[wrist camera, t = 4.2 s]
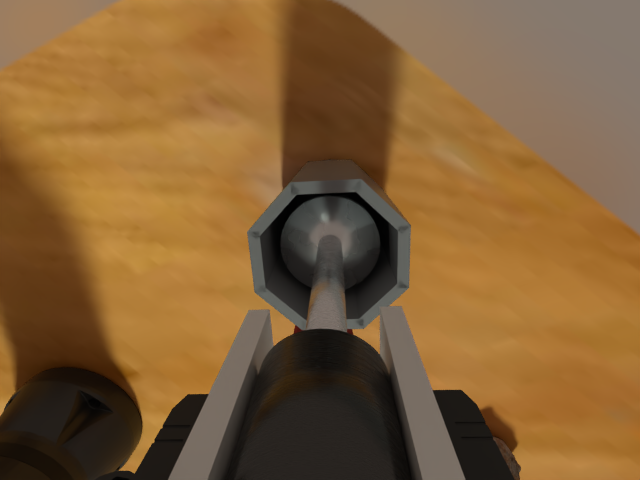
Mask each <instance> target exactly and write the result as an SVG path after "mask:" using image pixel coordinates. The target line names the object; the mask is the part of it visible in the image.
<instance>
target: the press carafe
mask: <svg viewBox="0 0 640 480" xmlns="http://www.w3.org/2000/svg"><path fill="white" fill-rule="evenodd" d="M321 195H339V196H344V197H347V198H349V199H352V200H354V201H356V202H357V203H359V204H360V205H361V206H363V207H364V208H365V209H366V210H367V211H368V212H369V214H370V215H371V217H372V218H373V220H374V222H375V224H376V227H377V229H378V232H379V237H380V252H379V257H378V260H377V262H376V264H375V266H374V268H373V269H372V271H371V272H370V274H369V275H368V276H367V277H366V278H365V279H363V280H362V281H361V282H360V283H358V284H356V285H355V286H352V287H350V288H347V289H345V304H346V322H347V329H364V328H365V327H366V326H367V325H368V324H369V323H370V322H372V321H373V320H374V319H375V318H376V317H377V316H378V315H379V314H380V307H388V306H389V305H390V304H392V303H393V302H394V301H395V300H396V299H397V298H398V297H399V296H400V295H401V294H403V293H404V292H405V291H406V290H407V289H408V288H409V267H410V232H411V225H410V224H409V223H408V221H407V220H406V219H405V217H404V216H403V215H402V214H401V212H400V211H399V210H398V208H397V207H396V206H395V204H394V203H393V202H392V201H391V199H390V198H389V197H388V195H387V194H386V193H385V192H384V190H383V189H382V188H381V187H380V186H379V185H378V184H377V183H376V182H375V181H374V180H372V179H371V178H370V177H369V176H368V175H367V173H366V172H364V171H363V170H362V169H361V168H360V167H359V166H358V165H357V164H356V163H354V162H353V161H352V160H351V159H348V160H331V159H329V160H322V161H309V162H307V163H306V164H305V165H304V166H303V168H302V169H301V170H300V171H299V172H298V173H297V174H296V176H295V177H294V178H293V179H292V180H291V181H290V182H289V184H288V185H287V186H286V187H285V188H284V189H283V191H282V192H281V193H280V194H279V195H278V196H277V197H276V199H275V200H274V201H273V202H272V203H271V205H270V206H269V207H268V208H267V209H266V210H265V212H264V213H263V214H262V215H261V216H260V217H259V219H258V220H257V221H256V222H255V223H254V225H253V226H252V227H251V228H250V229H249V230H248V232H247V234H248V242H249V250H250V258H251V266H252V274H253V282H254V291H255V293H256V294H257V295H259V296H260V297H261V298H262V299H264V300H265V301H266V302H268V303H269V304H270V305H271V306H273V307H274V308H275V309H276V310H278V311H279V312H280V313H281V314H283V315H284V316H285V317H286V318H288V319H289V320H290V321H291V322H293V323H294V324H295V325H296V326H298V327H299V328H300V329H301V330H305V329H306V323H307V316H308V309H309V303H310V296H311V289H312V288H311V287H309V286H307V285H305V284H303V283H302V282H300V281H299V280H297V279H296V278H295V277H294V276H293V275H292V273H291V272H290V271H289V270H288V268H287V266H286V264H285V262H284V260H283V257H282V253H281V235H282V231H283V228H284V226H285V223H286V221H287V220H288V218H289V216H290V215H291V213H292V212H293V211H294V210H295V209H296V208H297V207H298V206H299V205H301V204H302V203H303V202H305V201H307V200H309V199H311V198H314V197H317V196H321Z"/></svg>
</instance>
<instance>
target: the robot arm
mask: <svg viewBox="0 0 640 480" xmlns="http://www.w3.org/2000/svg"><path fill="white" fill-rule="evenodd" d="M272 348H273V338H272V329H271V320H270V311H269V310H249V311H248V313H247V315H246V317H245V319H244V321H243V323H242V325H241V328H240V330H239V332H238V334H237V336H236V338H235V340H234V342H233V344H232V346H231V349H230V351H229V353H228V355H227V357H226V359H225V361H224V363H223V365H222V367H221V370H220V372H219V374H218V376H217V378H216V380H215V382H214V384H213V386H212V388H211V391H210V393H209V394H188V395H187V396H186V397H185V398H184V399H182V400H181V401H180V402H179V403H178V404H177V405H176V406H175V407H174V408H173V409H172V411H171V412H170V414H169V416H168V417H167V419H166V421H165V423H164V424H163V428H162V429H160V431H159V433H158V435H157V436H156V438H155V442H154V443H152V445H151V447H150V448H149V450H148V452H147V454H146V455H145V457H144V459H143V460H142V462H141V464H140V466H139V467H138V469H137V471H136V472H135V474H134V473H132V472H130V471H119V470H120V469H121V468H122V467H123V466H124V465H125V463H126V462H127V461H128V459H129V458H130V456H131V455H132V453H133V452H134V450H135V448H136V447H137V445H138V443H139V441H140V438H141V434H142V423H141V418H140V415H139V412H138V410H137V408H136V406H135V405H134V403H133V402H132V400H131V399H130V398H129V396H128V395H127V394H126V393H125V392H124V391H123V390H122V389H121V388H119V387H118V386H117V385H116V384H114V383H113V382H111V381H110V380H108V379H106V378H104V377H102V376H100V375H98V374H96V373H93V372H90V371H87V370H83V369H77V368H54V369H49V370H46V371H43V372H41V373H39V374H37V375H36V376H34V377H33V378H32V379H30V380H29V381H28V382H27V383H26V384H24V385H23V386H22V387H21V388H20V389H18V390H17V391H16V392H15V393H14V394H13V396H12V397H11V398H10V400H9V401H8V403H7V404H6V406H5V409H4V412H3V413H2V415H1V416H0V480H225V479H226V475H227V472H228V469H229V466H230V463H231V459H232V456H233V453H234V450H235V447H236V444H237V440H238V437H239V434H240V431H241V428H242V424H243V421H244V418H245V415H246V412H247V408H248V405H249V402H250V399H251V396H252V393H253V389H254V386H255V383H256V380H257V377H258V373H259V370H260V367H261V364H262V362H263V360H264V358H265V357H266V355H267V354H268V352H269V351H270V350H271V349H272ZM380 356H381V357H382V359H383V361H384V362H385V364H386V367H387V369H388V372H389V377H390V381H391V386H392V390H393V395H394V400H395V404H396V409H397V413H398V418H399V423H400V427H401V432H402V436H403V441H404V446H405V450H406V455H407V459H408V464H409V468H410V473H411V478H412V480H515V479H514V477H513V475H512V473H511V471H510V469H509V467H508V465H507V463H506V461H505V459H504V457H503V455H502V453H501V451H500V450H499V448H498V446H497V444H496V442H495V441H494V440H493V436H492V434H491V432H490V430H489V428H488V426H487V425H486V423H485V420H484V418H483V416H482V414H481V412H480V410H479V408H478V406H477V404H476V403H474V402H473V401H472V400H471V399H470V398H469V397H468V396H467V395H466V394H465V393H464V392H463V391H462V390H432V388H431V385H430V382H429V380H428V377H427V374H426V371H425V369H424V366H423V363H422V361H421V358H420V355H419V352H418V350H417V347H416V344H415V342H414V339H413V336H412V333H411V331H410V328H409V325H408V323H407V320H406V317H405V314H404V312H403V309H402V306H388V307H380Z"/></svg>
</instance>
